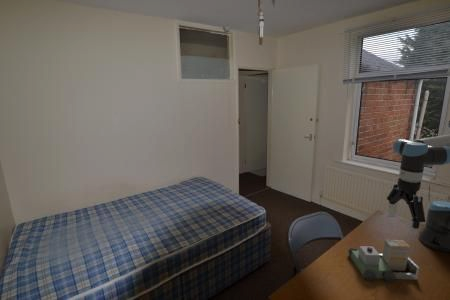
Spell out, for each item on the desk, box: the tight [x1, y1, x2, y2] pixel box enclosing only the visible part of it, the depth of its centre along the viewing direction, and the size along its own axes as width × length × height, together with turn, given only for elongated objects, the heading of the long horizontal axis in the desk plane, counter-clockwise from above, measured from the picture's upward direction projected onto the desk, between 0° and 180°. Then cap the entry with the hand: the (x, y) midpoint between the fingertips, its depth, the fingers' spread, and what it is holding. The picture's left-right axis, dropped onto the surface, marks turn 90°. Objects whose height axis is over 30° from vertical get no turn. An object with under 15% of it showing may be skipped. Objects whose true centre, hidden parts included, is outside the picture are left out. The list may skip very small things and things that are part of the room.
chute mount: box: [379, 253, 420, 281], centre depth 105 cm, size 11×13×6 cm
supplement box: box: [381, 239, 411, 271], centre depth 105 cm, size 8×5×13 cm, turn 82°
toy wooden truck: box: [347, 245, 396, 282], centre depth 106 cm, size 12×16×10 cm
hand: (401, 224), depth 101 cm, fingers open, 13 cm apart
